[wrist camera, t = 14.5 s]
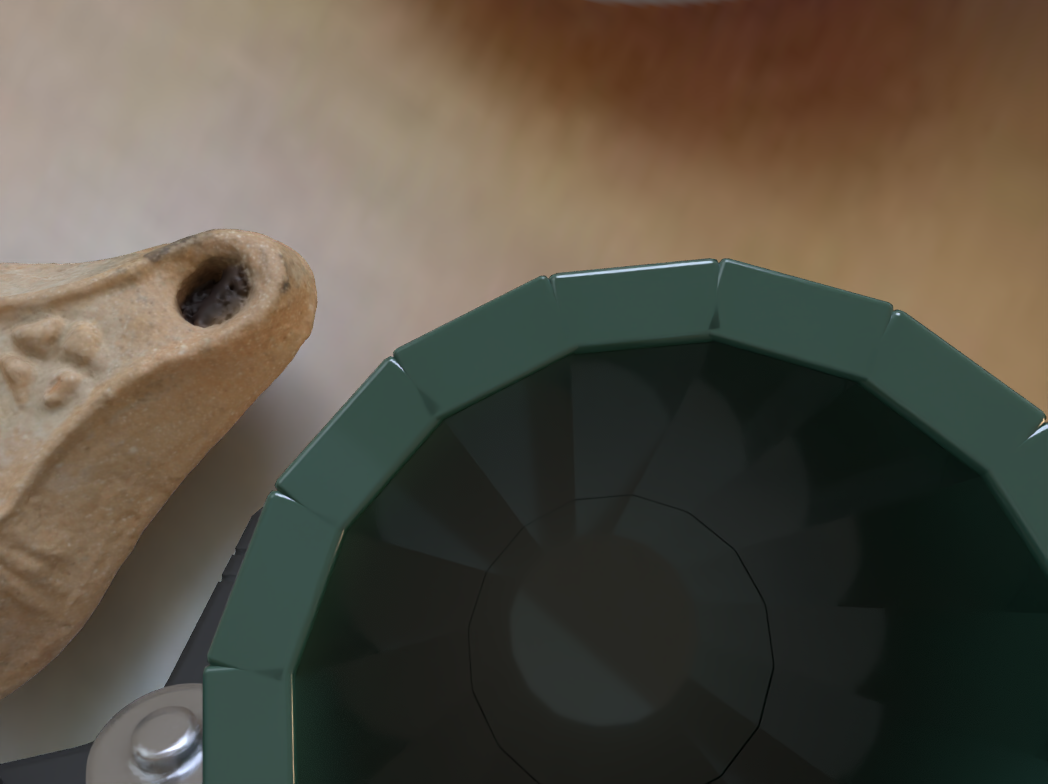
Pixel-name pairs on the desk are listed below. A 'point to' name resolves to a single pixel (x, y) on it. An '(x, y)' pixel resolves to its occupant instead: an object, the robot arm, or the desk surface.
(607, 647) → the pot
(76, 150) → the desk surface
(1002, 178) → the desk surface
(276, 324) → the pottery oil lamp
